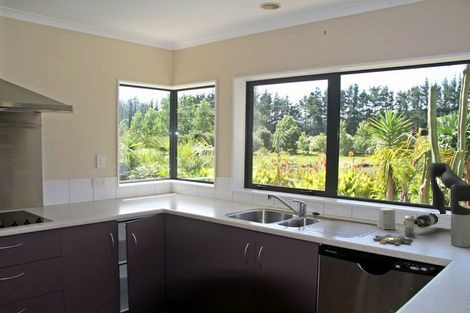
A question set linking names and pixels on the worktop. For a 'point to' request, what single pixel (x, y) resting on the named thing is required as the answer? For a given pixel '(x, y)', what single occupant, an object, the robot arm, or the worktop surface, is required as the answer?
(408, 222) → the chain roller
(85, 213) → the worktop surface
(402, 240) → the sprocket plate
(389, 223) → the small box
